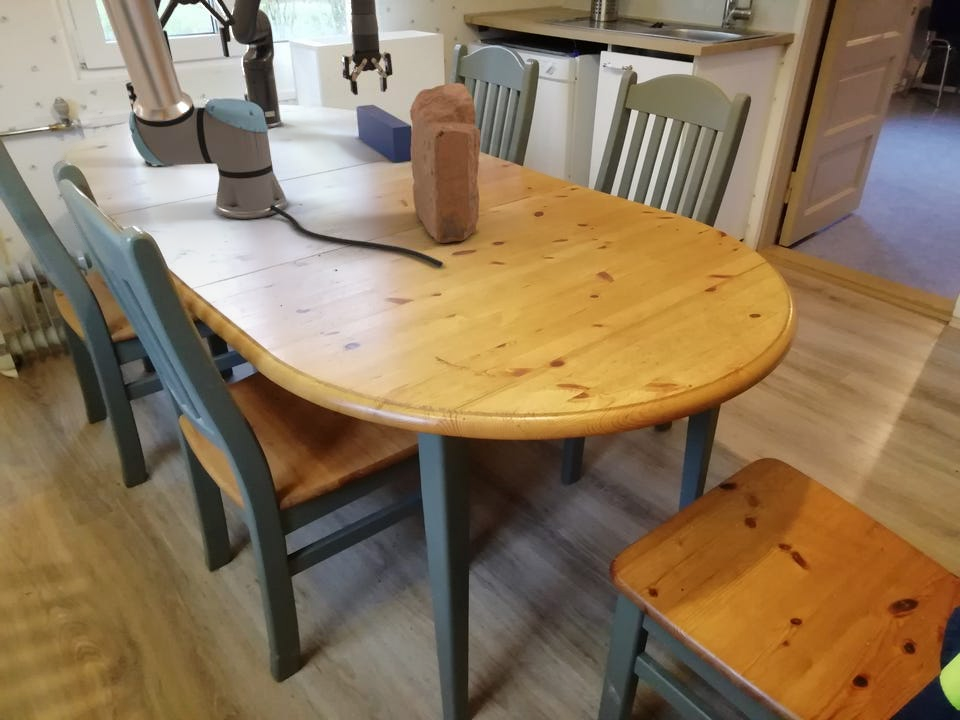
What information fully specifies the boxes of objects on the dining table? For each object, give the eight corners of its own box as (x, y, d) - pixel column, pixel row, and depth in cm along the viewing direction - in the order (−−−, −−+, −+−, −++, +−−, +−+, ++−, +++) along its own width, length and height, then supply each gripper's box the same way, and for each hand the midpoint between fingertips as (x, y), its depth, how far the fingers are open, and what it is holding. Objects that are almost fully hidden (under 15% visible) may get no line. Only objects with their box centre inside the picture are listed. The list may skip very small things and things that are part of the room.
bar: (412, 160, 191) (411, 125, 186) (394, 162, 188) (392, 127, 183) (375, 136, 211) (373, 104, 206) (358, 138, 209) (356, 106, 204)
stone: (490, 240, 143) (490, 97, 128) (437, 246, 140) (432, 100, 125) (459, 208, 160) (457, 80, 146) (412, 214, 157) (405, 83, 143)
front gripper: (230, -42, 169) (245, 52, 180) (119, -41, 157) (142, 59, 169) (238, -41, 163) (253, 56, 174) (124, -40, 152) (147, 64, 163)
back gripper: (383, 28, 196) (387, 88, 205) (335, 31, 191) (341, 93, 199) (393, 31, 191) (397, 93, 200) (344, 34, 185) (350, 98, 194)
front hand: (198, 58), depth 171 cm, fingers open, 13 cm apart
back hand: (369, 92), depth 199 cm, fingers open, 8 cm apart
